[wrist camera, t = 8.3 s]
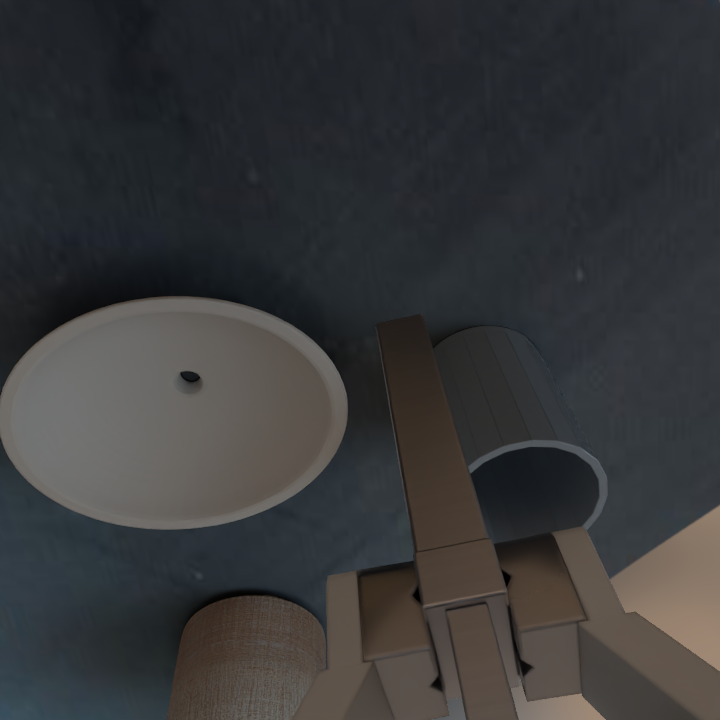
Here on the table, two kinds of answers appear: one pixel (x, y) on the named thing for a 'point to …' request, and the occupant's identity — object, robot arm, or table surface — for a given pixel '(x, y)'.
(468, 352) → the grey cup
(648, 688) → the robot arm
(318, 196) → the table surface
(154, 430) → the dish
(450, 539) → the grey slender bar
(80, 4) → the table surface
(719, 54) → the table surface
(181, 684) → the planter
